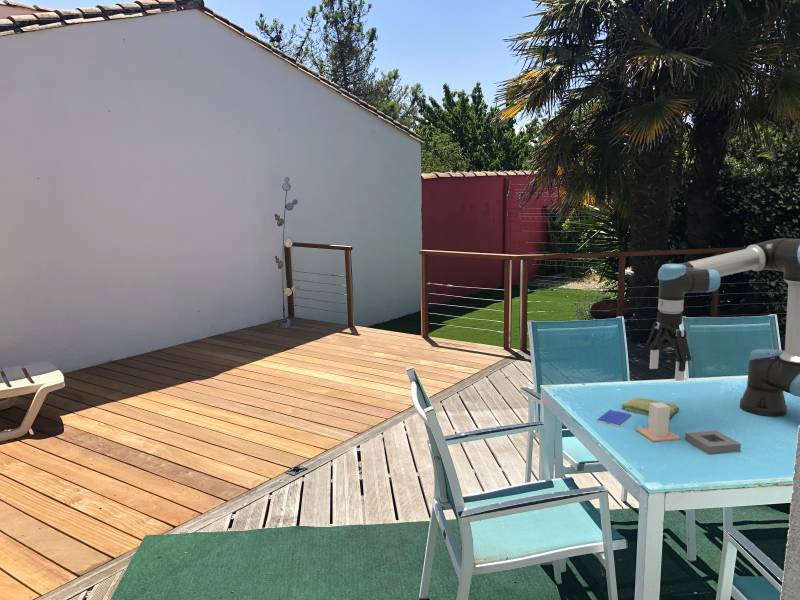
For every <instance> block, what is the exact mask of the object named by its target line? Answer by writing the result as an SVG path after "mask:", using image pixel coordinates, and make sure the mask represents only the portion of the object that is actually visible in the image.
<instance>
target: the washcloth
mask: <svg viewBox="0 0 800 600" xmlns="http://www.w3.org/2000/svg"><path fill="white" fill-rule="evenodd" d="M658 402H662V403H664V404H666V405H668V406H670V415H669V419H670V418H671V417H673V416H674V413H675V414H676V413H677V412H679V410H680V407H679V406H678V405H677V404H676V403H673V402H664V401H661V400H656V399H655V400H654V399H648V398H643V397H632V398H631V399H628V400H626V402H625V403H624V402H623V403H621V407H622V408H623V409H624V411H625V410H627V411H626V412H630V411H631V413H635V412H636V413H635V414H639V413H640V415H644V414H645V415H646V416H649V407H650V403H658Z"/></svg>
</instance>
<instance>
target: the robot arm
mask: <svg viewBox="0 0 800 600" xmlns="http://www.w3.org/2000/svg"><path fill="white" fill-rule="evenodd" d="M751 270H752V271H754V272H760V271H778V272H783V277H782V278H783V281H785V283H786V284H788V287H787V302H786V303H787V304H786V321H785V322H786V324H785V341H784V344H785V345H784V350H782V349H776V348H775V349H774V348H758V349H756V348H755V349H753V350H752V351H751V352H750V355H749V359H748V371H747V381H746V383H747V384H746V387H745V388H746V389H745V390H744V392H743V395H742V397H741V398H740V400H739V408H740V409H742V410H743V411H745V412H748V413H750V414H754V415H759V416H764V417H784V416H786V415H787V413H788V406H787V403H786V399H785V394H784V392H786V393H788V394H790V395H792V396H794V397H800V238H791V237H789V238H788V237H781V238H775V239H770V240H766V241H762V242H758V243H754V244H750V245H748V246H747V247H746V248H745V249H741V250H740V249H739V250H735V251H731V252H727V253H726V252H725V253H722V254H717V255H713V256H710V257H709V256H708V257H704V258H700V259H695V260H691V261H690V260H689V261H687V262H681V263H665V264H662V265H661V266H660V268H659V269H658V271H657V278H658V282H659V283H658V305H657V310H658V311H657V317H656V321H654V322H653V323H652V329H651V330H650V331H651V332H650V334H649V336H648V338H647V341H646V343H645V346H646V347H648V349H649V369H650V370H655V369H656V370H657V369H659V355H660V350H659V349H660V348H659V347H660V346H661V344H662V343H663V342H664V341H665V340H667V341H668V342H669V343H670V344H671V346H672V348H673V351H674V353H675V355H676V358H677V360H676V361H675V373H674V381H676V382H681V381H685V371H686V366H687V365H686V363H687V362H689V361H690V362H691V360H692V357H691V353H690V352H691V351H690V348H689V345H688V344H689V343H688V339H687V330H686V329H680V326H681V325H682V324H683V317H684V316H683V313H682V312H683V311H684V302H685V294H690V293H691V294H692V293H693V294H694V293H696V294H697V293H711V292H716V291H717V290H718V289H719V288H720V286H721V277H725V276H729V275H734V274H738V273H741V272H742V273H743V272H746V271H751Z"/></svg>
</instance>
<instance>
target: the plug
mask: <svg viewBox="0 0 800 600" xmlns="http://www.w3.org/2000/svg"><path fill="white" fill-rule="evenodd" d="M662 402H663V401H662ZM662 402H658V403H650V407H649V415H648V424H647V428H648V432H650V433H651V434H653V435H654V436H667V435H668V431H669V425H670V418H669V415H670V406H668V405H666V404H664V403H662Z"/></svg>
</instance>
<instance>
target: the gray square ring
mask: <svg viewBox="0 0 800 600" xmlns="http://www.w3.org/2000/svg"><path fill="white" fill-rule="evenodd" d="M684 441H686V442H688V443H689V444H691V445H693V446H694V447H696V448H697V449H699V450H700V451H703V452H704V453H706V454H707V455H715V454H724V453H725V454H727V453H734V452H735V453H736V452H741V449H742V444H741V443H740V442H738V441H736V440H734V439H733V438H731V437H730V436H727V435H726V434H724V433H722V432H720V431H718V430H716V429H712V430H703V431H701V430H700V431H689V432H685V435H684Z"/></svg>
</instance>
